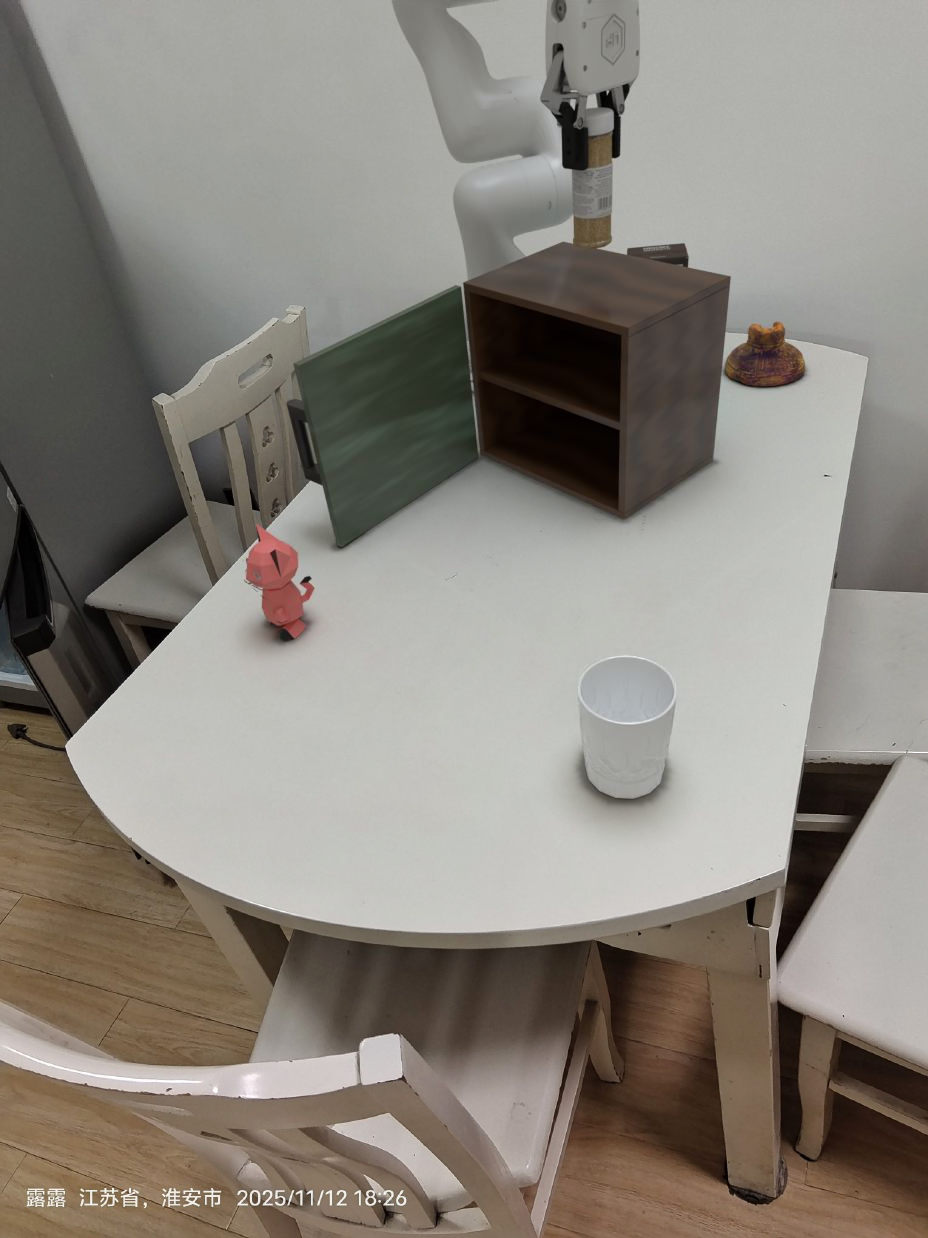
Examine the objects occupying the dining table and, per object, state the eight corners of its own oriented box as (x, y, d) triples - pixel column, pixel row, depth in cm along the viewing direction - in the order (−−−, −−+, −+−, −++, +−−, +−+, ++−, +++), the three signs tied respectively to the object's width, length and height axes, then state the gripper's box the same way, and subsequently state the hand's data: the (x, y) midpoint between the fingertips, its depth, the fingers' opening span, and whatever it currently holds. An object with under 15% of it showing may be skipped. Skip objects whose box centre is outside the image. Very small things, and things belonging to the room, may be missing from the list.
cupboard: (624, 520, 104) (628, 327, 89) (480, 455, 120) (462, 282, 105) (713, 461, 113) (731, 275, 97) (567, 407, 129) (563, 241, 113)
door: (304, 529, 110) (257, 351, 95) (440, 444, 124) (418, 277, 108) (341, 547, 106) (298, 365, 91) (478, 457, 119) (461, 285, 104)
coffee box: (680, 343, 142) (686, 241, 132) (684, 359, 137) (690, 255, 127) (624, 346, 144) (626, 246, 133) (626, 362, 139) (628, 259, 128)
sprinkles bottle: (598, 235, 101) (598, 104, 92) (620, 243, 97) (622, 109, 89) (564, 243, 99) (562, 111, 91) (585, 253, 96) (584, 117, 88)
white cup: (571, 741, 78) (569, 661, 72) (657, 730, 78) (662, 649, 72) (588, 811, 72) (587, 730, 66) (681, 799, 72) (689, 717, 66)
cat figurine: (252, 620, 97) (222, 532, 89) (307, 596, 99) (283, 509, 91) (274, 654, 92) (244, 564, 84) (332, 628, 94) (308, 539, 86)
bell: (717, 384, 129) (722, 337, 125) (732, 352, 138) (736, 307, 133) (799, 391, 125) (806, 342, 120) (808, 357, 133) (816, 311, 129)
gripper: (561, -40, 75) (566, 186, 87) (676, -62, 83) (666, 147, 95) (500, -36, 79) (513, 178, 91) (615, -57, 88) (613, 142, 99)
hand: (591, 160), depth 93 cm, fingers closed on sprinkles bottle, 4 cm apart
